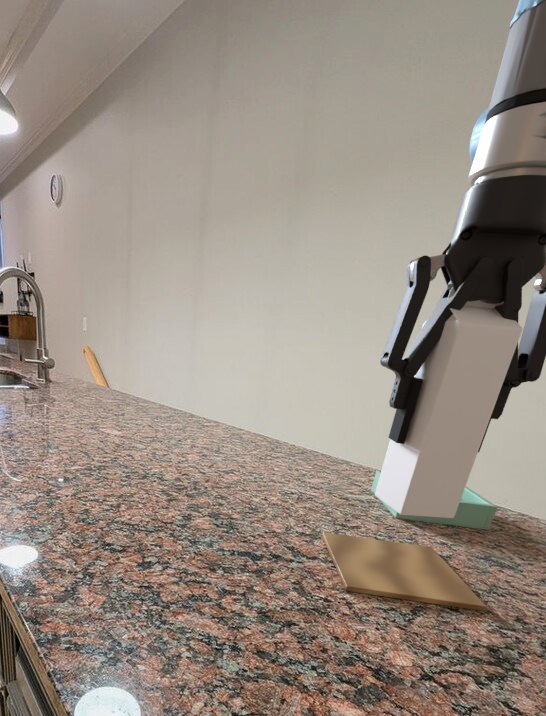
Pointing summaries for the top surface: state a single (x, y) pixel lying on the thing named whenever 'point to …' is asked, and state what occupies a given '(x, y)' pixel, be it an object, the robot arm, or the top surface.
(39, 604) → the top surface
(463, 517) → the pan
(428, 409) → the milk
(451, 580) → the cork mat
